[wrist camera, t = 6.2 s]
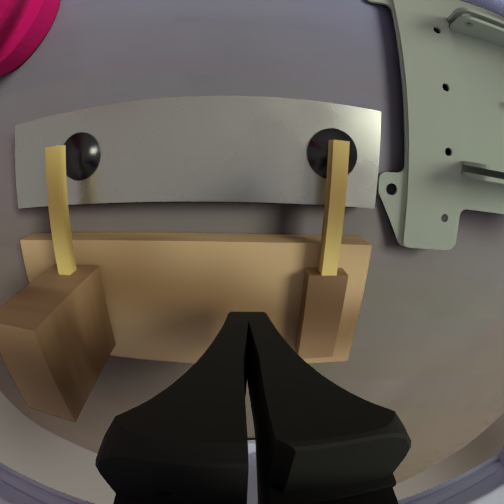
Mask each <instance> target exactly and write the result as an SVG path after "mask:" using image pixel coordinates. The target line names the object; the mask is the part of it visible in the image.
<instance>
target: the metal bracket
mask: <svg viewBox="0 0 504 504" xmlns="http://www.w3.org/2000/svg"><path fill="white" fill-rule="evenodd" d="M367 1H368V2H370V3H374V4H383V5H386V6H388V7H389V8H390V9H391V12H392V17H393V22H394V28H395V34H396V40H397V47H398V54H399V62H400V71H401V81H402V94H403V110H404V168H403V170H402V171H401V172H397V173H396V172H383V173H381V174H380V176H379V179H378V193H379V195H380V197H381V200H382V202H383V205H384V207H385V210H386V212H387V215H388V217H389V220H390V222H391V225H392V228H393V230H394V233H395V236H396V239H397V241H398V243H399V244H400V245H401V246H406V247H408V248H422V249H438V250H451V249H452V248H453V247H454V246H455V243H456V239H457V232H458V225H459V217H460V213H461V212H462V211H463V210H466V209H468V210H476V211H484V212H491V213H499V214H504V17H503V16H501V15H499V14H496V13H494V12H491V11H489V10H486V9H484V8H481V7H478V6H475V5H473V4H470V3H467V2H464V1H460V0H367ZM434 28H437V29H438V30H439V32H440V33H436V32H435V31H434ZM443 84H445V85H447V87H448V91H445V90H444V89H443V87H442V85H443ZM446 148H449V149H450V151H451V154H450V155H449V156H447V155H446V154H445V149H446ZM391 183H392V184H394V185H395V186H396V192H395V193H394V194H393V195H389V194H388V193H387V192H386V187H387V185H388V184H391ZM443 214H446V215H447V219H446V220H445V221H442V220H441V217H442V215H443Z"/></svg>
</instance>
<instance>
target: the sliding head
mask: <svg viewBox="0 0 504 504" xmlns="http://www.w3.org/2000/svg"><path fill="white" fill-rule="evenodd" d="M45 155H46V182H47V196H48V207H49V217H50V225H51V233H52V239H53V246H54V252H55V258H56V263H57V264H55V265H53V266H52V267H51V268H49V269H48V270H47V271H45V272H44V273H43V274H41V275H40V276H39V277H38V278H36V279H35V280H34V281H32V282H31V283H30V284H29V285H27V286H26V287H25V288H24V289H22V290H21V291H20V292H19V293H17V294H16V295H15V296H14V297H13V298H11V299H10V300H9V301H8V302H7V303H5V304H4V305H3V306H2V307H1V308H0V354H1V356H2V358H3V360H4V362H5V365H6V367H7V369H8V371H9V373H10V375H11V377H12V379H13V381H14V382H15V384H16V386H17V388H18V390H19V392H20V394H21V395H22V397H23V399H24V401H25V402H26V404H27V406H28V407H31V408H33V409H36V410H39V411H42V412H45V413H48V414H51V415H54V416H57V417H60V418H63V419H67V420H70V421H74V422H76V420H77V418H78V416H79V414H80V412H81V410H82V408H83V406H84V404H85V402H86V400H87V398H88V396H89V394H90V392H91V390H92V388H93V386H94V384H95V382H96V380H97V378H98V376H99V374H100V372H101V371H102V369H103V367H104V365H105V363H106V361H107V359H108V358H109V356H110V354H111V352H112V350H113V348H114V347H115V345H116V343H115V339H114V335H113V331H112V327H111V323H110V318H109V313H108V309H107V304H106V299H105V294H104V288H103V283H102V277H101V270H100V266H96V265H76V262H75V256H74V249H73V242H72V235H71V227H70V218H69V208H68V196H67V180H66V145H57V146H51V147H46V148H45Z"/></svg>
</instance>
